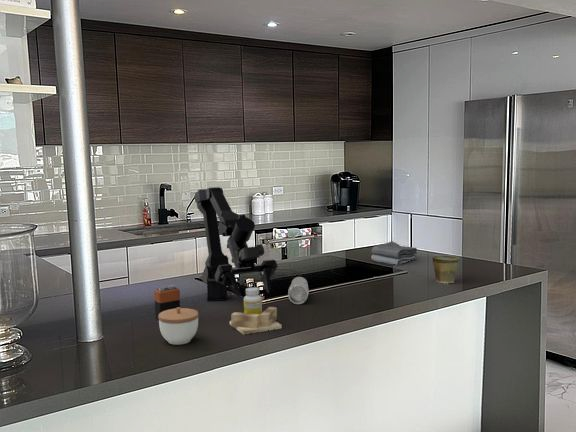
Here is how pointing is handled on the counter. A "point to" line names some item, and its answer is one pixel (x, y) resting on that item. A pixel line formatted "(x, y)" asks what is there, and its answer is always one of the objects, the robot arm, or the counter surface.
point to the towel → (393, 253)
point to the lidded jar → (178, 325)
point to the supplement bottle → (252, 301)
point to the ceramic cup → (445, 268)
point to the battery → (166, 299)
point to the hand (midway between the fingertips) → (254, 294)
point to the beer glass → (298, 290)
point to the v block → (255, 321)
